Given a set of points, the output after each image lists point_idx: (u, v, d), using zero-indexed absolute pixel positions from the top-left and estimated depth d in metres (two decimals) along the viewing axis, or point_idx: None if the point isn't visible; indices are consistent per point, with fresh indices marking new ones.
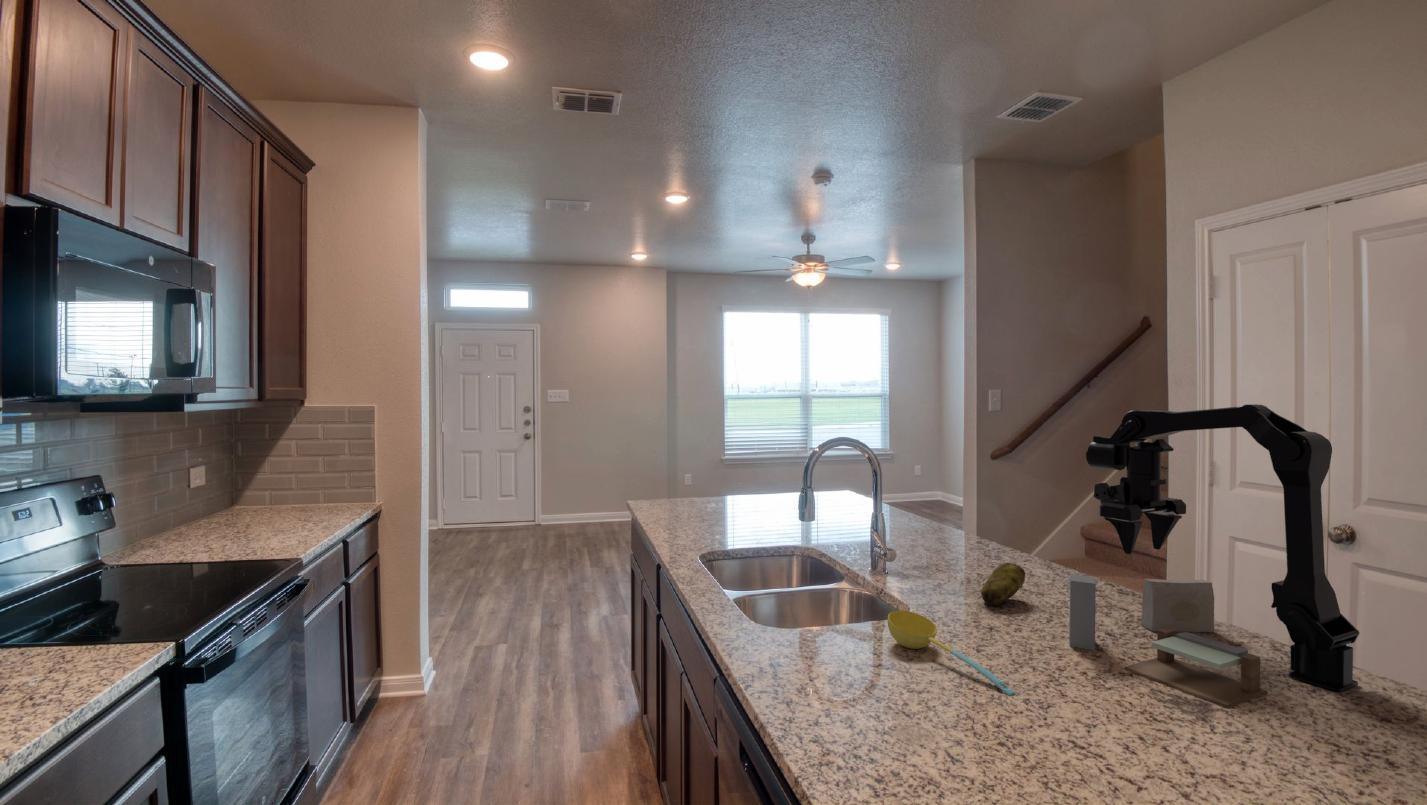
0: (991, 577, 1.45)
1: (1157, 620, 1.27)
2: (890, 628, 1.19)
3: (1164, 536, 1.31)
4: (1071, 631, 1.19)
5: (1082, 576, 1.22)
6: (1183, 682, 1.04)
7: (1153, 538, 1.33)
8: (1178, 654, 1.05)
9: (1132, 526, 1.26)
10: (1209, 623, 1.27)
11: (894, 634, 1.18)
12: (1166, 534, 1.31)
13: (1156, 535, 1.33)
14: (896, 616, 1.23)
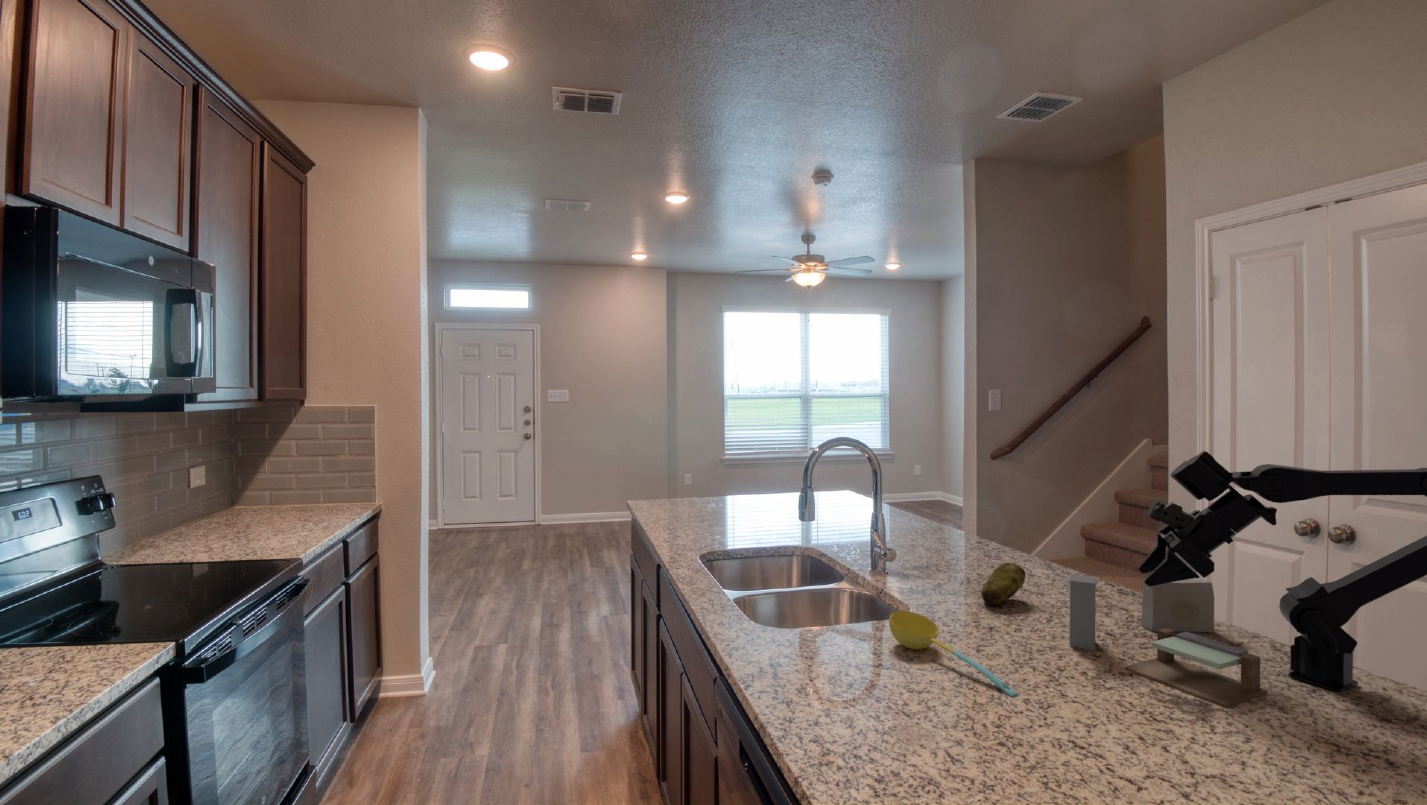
0: (991, 577, 1.45)
1: (1157, 620, 1.27)
2: (892, 629, 1.19)
3: None
4: (1071, 631, 1.19)
5: (1082, 576, 1.22)
6: (1183, 682, 1.04)
7: (1147, 562, 1.20)
8: (1178, 654, 1.05)
9: (1188, 574, 1.08)
10: (1209, 623, 1.27)
11: (896, 634, 1.18)
12: None
13: (1151, 561, 1.20)
14: (898, 617, 1.23)
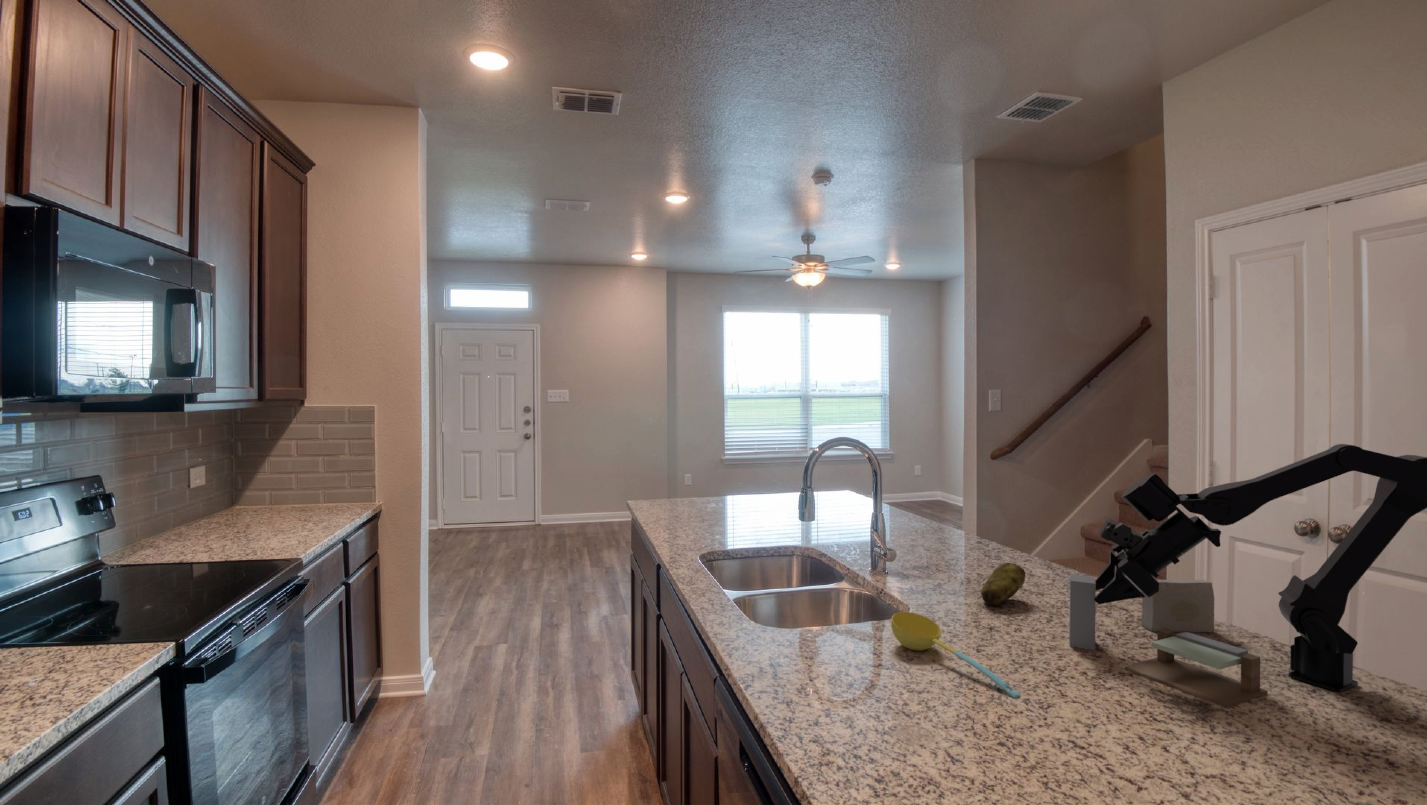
0: (991, 577, 1.45)
1: (1157, 620, 1.27)
2: (894, 630, 1.18)
3: None
4: (1071, 631, 1.19)
5: (1082, 576, 1.22)
6: (1183, 682, 1.04)
7: (1100, 579, 1.23)
8: (1178, 654, 1.05)
9: (1135, 594, 1.11)
10: (1209, 623, 1.27)
11: (898, 635, 1.17)
12: None
13: (1104, 578, 1.23)
14: (900, 618, 1.23)
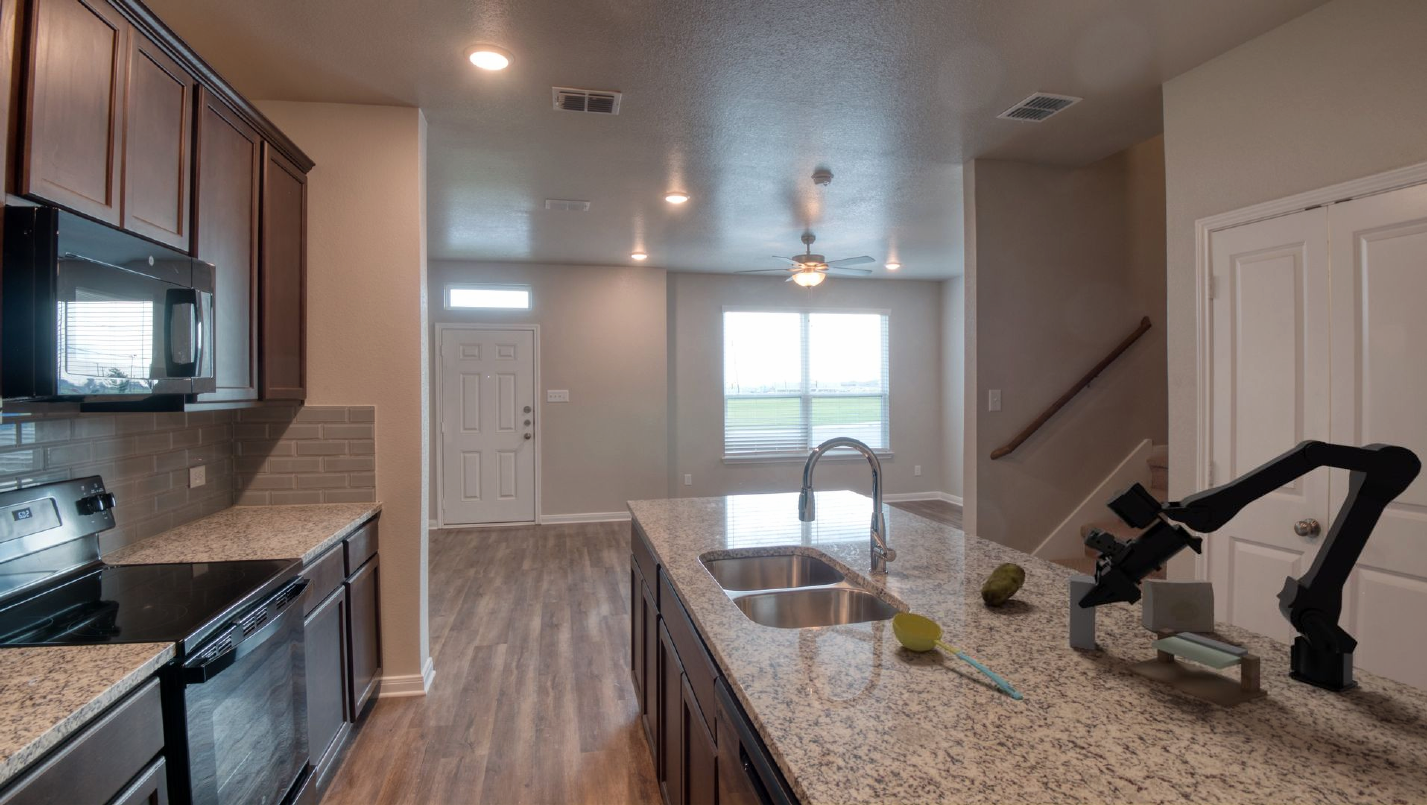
0: (991, 577, 1.45)
1: (1157, 620, 1.27)
2: (895, 630, 1.18)
3: None
4: (1071, 631, 1.19)
5: (1082, 576, 1.22)
6: (1183, 682, 1.04)
7: None
8: (1178, 654, 1.05)
9: (1117, 598, 1.14)
10: (1209, 623, 1.27)
11: (899, 636, 1.17)
12: None
13: None
14: (901, 619, 1.22)
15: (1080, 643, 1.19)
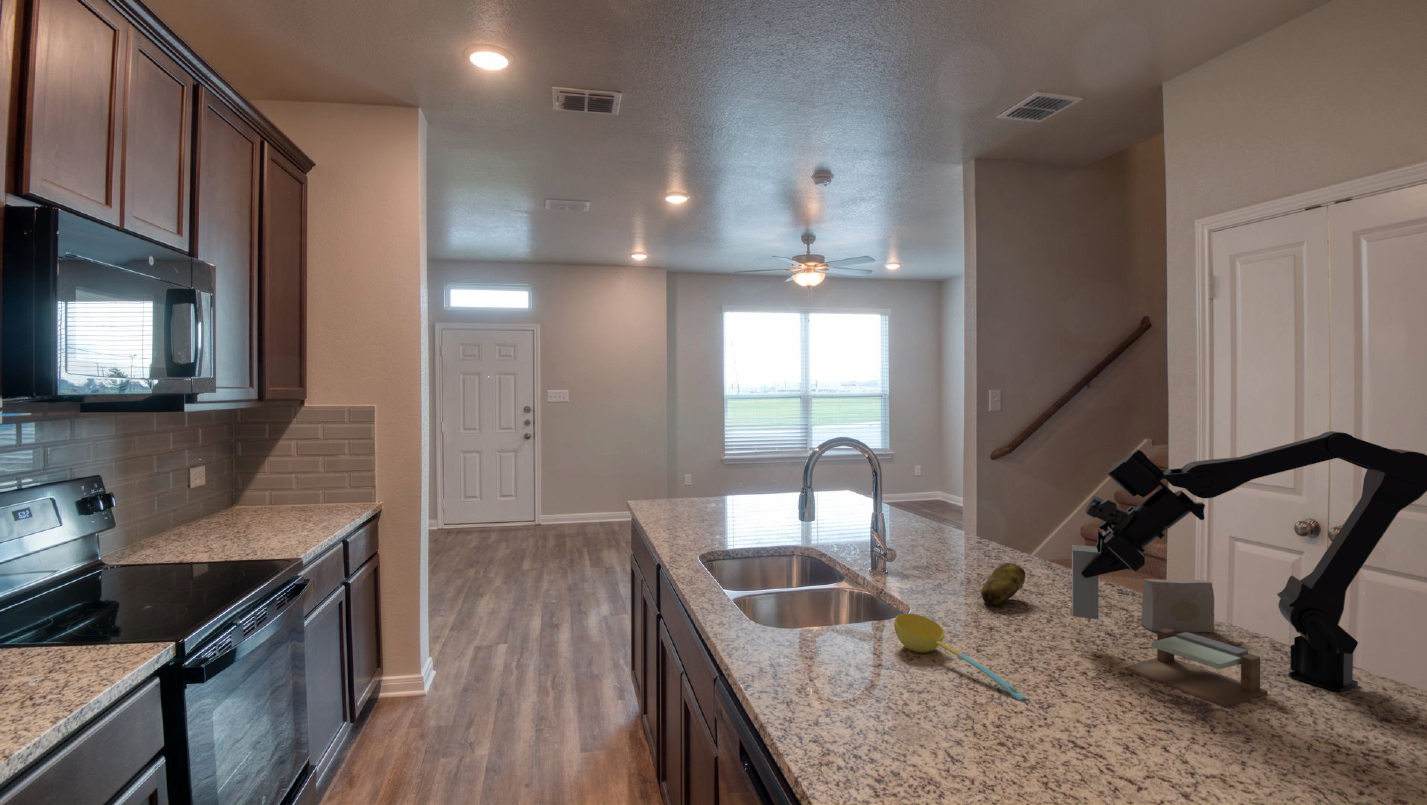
0: (991, 577, 1.45)
1: (1157, 620, 1.27)
2: (897, 631, 1.17)
3: None
4: (1074, 601, 1.19)
5: (1084, 546, 1.22)
6: (1183, 682, 1.04)
7: None
8: (1178, 654, 1.05)
9: (1120, 566, 1.14)
10: (1209, 623, 1.27)
11: (901, 637, 1.16)
12: None
13: None
14: (903, 620, 1.22)
15: (1083, 613, 1.18)
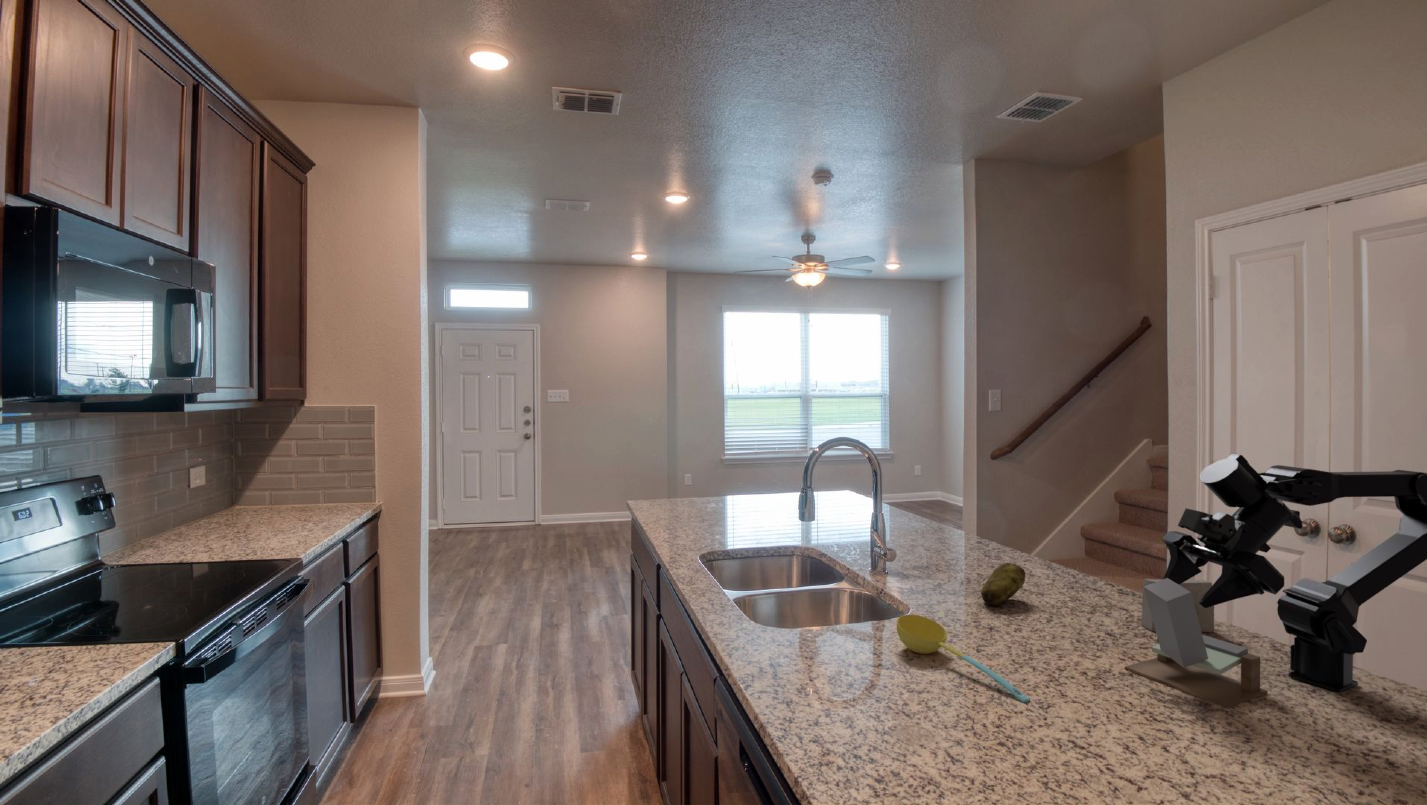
0: (991, 577, 1.45)
1: None
2: (899, 633, 1.17)
3: (1180, 583, 1.09)
4: (1181, 652, 1.02)
5: (1159, 584, 1.04)
6: (1183, 682, 1.04)
7: (1169, 578, 1.09)
8: None
9: (1248, 591, 0.99)
10: (1209, 623, 1.27)
11: (904, 638, 1.16)
12: None
13: (1172, 577, 1.09)
14: (905, 621, 1.21)
15: (1193, 659, 1.02)
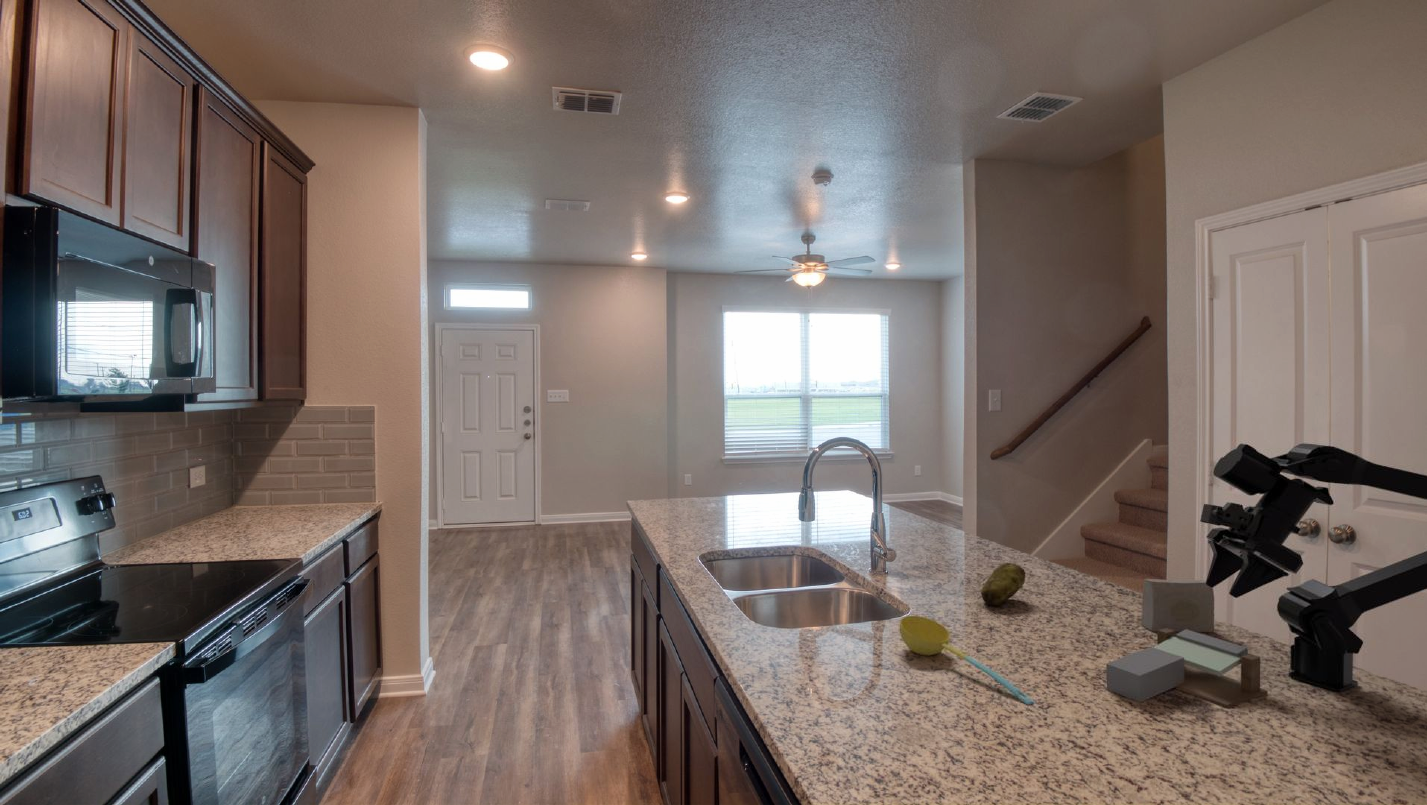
0: (991, 577, 1.45)
1: (1157, 620, 1.27)
2: (902, 634, 1.16)
3: (1227, 577, 1.11)
4: (1174, 685, 1.02)
5: (1111, 677, 1.01)
6: None
7: (1212, 574, 1.12)
8: None
9: (1274, 575, 1.00)
10: (1209, 623, 1.27)
11: (907, 640, 1.15)
12: (1229, 576, 1.11)
13: (1216, 572, 1.12)
14: (908, 622, 1.20)
15: (1181, 673, 1.03)
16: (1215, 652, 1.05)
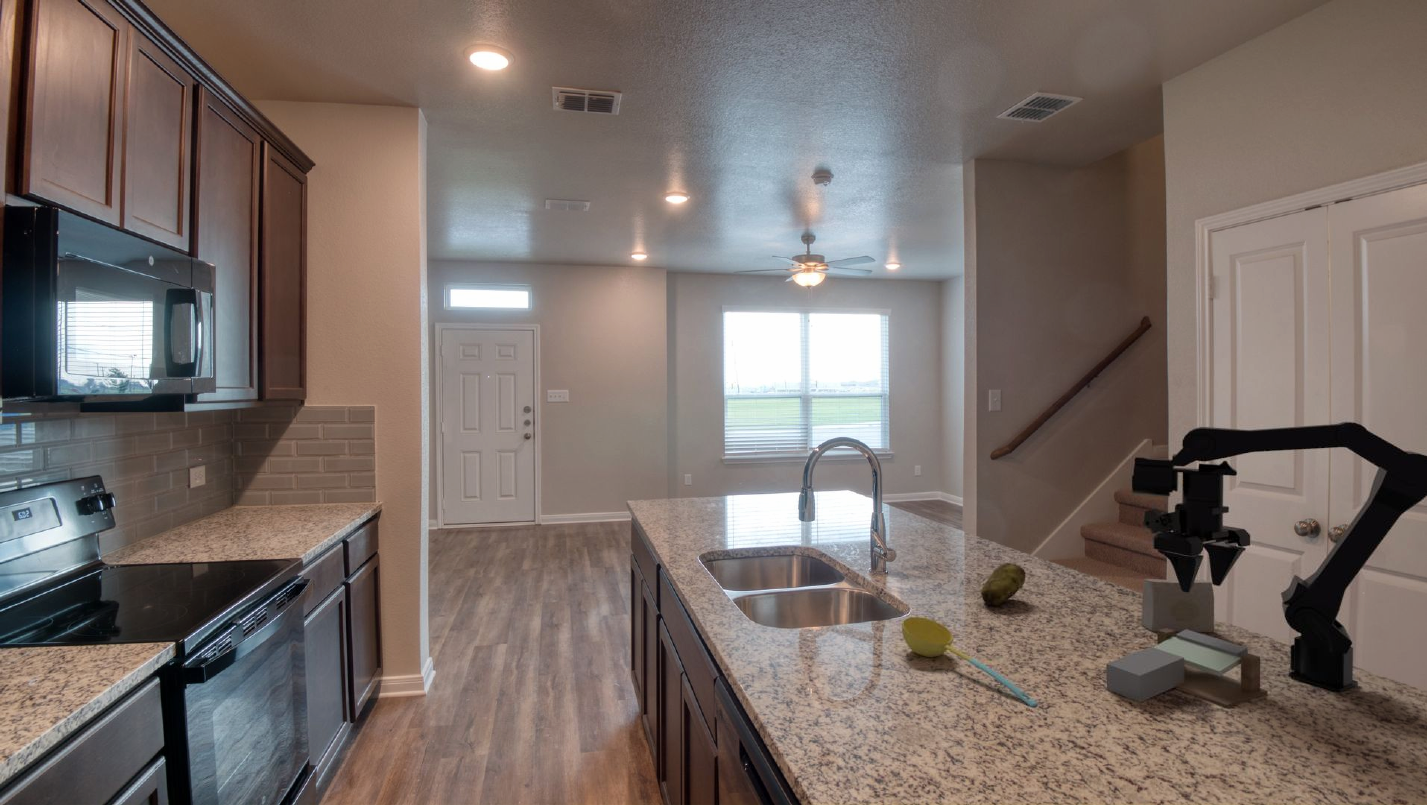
0: (991, 577, 1.45)
1: (1157, 620, 1.27)
2: (905, 635, 1.15)
3: (1225, 571, 1.15)
4: (1174, 685, 1.02)
5: (1111, 677, 1.01)
6: None
7: (1212, 573, 1.17)
8: None
9: (1192, 561, 1.10)
10: (1209, 623, 1.27)
11: (909, 641, 1.14)
12: (1228, 569, 1.15)
13: (1215, 570, 1.17)
14: (910, 623, 1.20)
15: (1181, 673, 1.03)
16: (1215, 652, 1.05)
